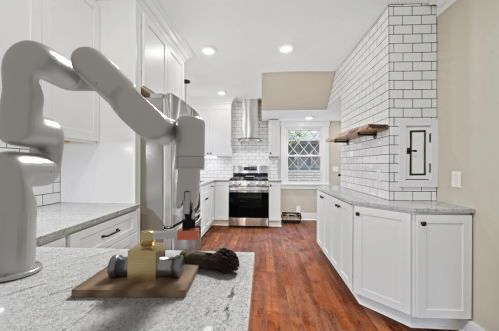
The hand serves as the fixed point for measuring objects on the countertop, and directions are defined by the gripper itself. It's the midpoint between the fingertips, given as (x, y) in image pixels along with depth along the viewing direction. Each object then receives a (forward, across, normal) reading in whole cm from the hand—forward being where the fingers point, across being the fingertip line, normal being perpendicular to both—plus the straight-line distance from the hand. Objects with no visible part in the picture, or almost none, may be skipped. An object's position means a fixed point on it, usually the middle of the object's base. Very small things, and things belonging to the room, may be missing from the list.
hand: (188, 234), depth 67 cm
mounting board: (+10, +4, -10) cm, 15 cm away
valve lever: (+1, +3, -4) cm, 5 cm away
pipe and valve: (+9, +4, -9) cm, 14 cm away
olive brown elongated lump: (+11, -4, +6) cm, 13 cm away
